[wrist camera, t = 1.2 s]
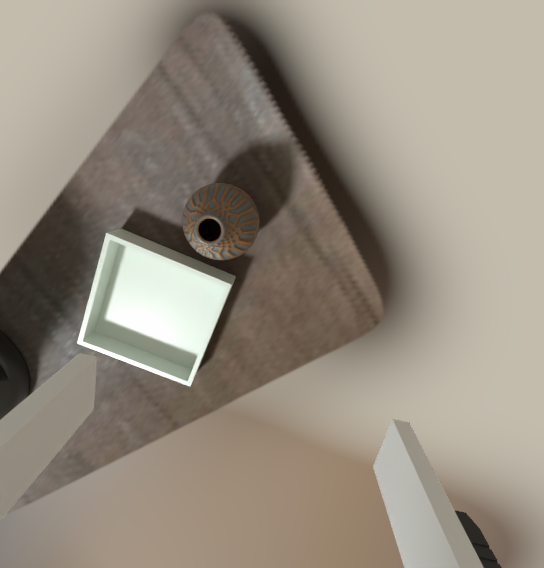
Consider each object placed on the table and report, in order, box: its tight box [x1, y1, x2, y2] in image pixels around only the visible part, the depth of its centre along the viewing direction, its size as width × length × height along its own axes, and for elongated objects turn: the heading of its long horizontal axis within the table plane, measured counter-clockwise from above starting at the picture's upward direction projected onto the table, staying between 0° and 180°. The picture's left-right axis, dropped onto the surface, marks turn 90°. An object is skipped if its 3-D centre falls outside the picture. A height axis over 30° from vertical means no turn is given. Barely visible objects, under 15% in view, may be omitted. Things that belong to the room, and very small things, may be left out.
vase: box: [182, 183, 259, 260], centre depth 29 cm, size 7×7×9 cm
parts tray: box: [77, 229, 236, 386], centre depth 35 cm, size 13×13×3 cm
